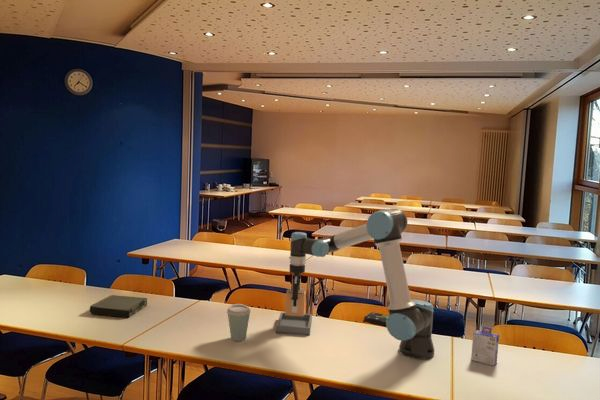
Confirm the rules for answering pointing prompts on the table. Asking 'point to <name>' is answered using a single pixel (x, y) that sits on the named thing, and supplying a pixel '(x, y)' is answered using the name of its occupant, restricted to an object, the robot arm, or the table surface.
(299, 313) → the toner caddy
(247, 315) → the disposable coffee cup
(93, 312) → the network switch
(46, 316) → the table surface
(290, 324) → the tray
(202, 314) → the table surface
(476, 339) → the ink cartridge box
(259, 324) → the table surface
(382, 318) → the disk drive
